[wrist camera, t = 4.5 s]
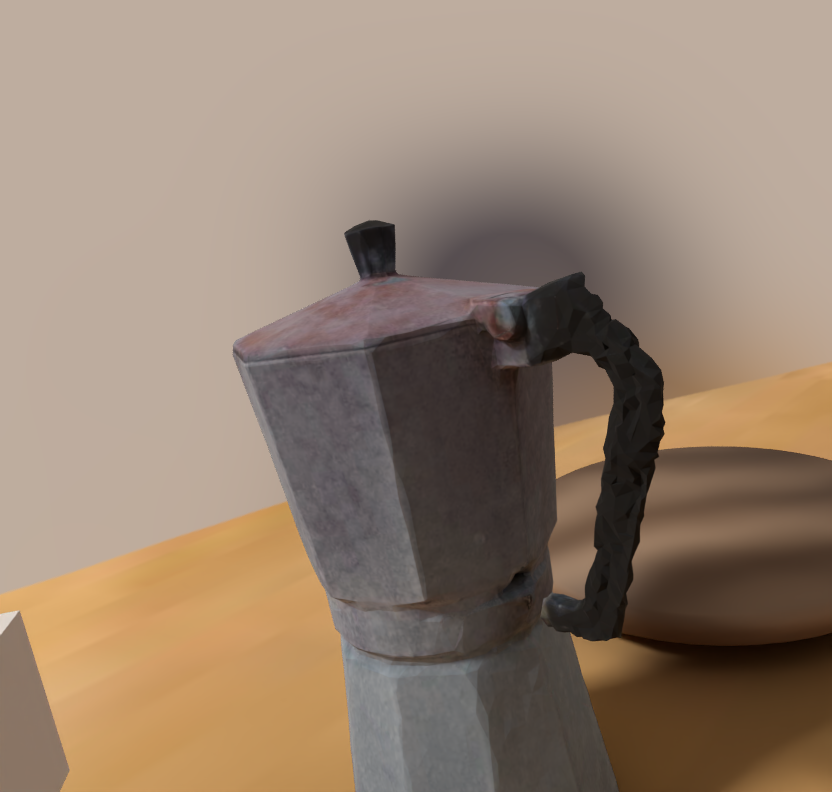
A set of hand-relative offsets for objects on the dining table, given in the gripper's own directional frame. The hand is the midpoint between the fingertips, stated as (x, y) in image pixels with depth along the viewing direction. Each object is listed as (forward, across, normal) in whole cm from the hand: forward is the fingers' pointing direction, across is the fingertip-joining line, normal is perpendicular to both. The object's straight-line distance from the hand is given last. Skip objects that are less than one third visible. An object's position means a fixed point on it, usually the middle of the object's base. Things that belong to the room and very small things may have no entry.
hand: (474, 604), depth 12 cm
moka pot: (+11, +1, -14) cm, 18 cm away
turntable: (+24, +15, -13) cm, 31 cm away
